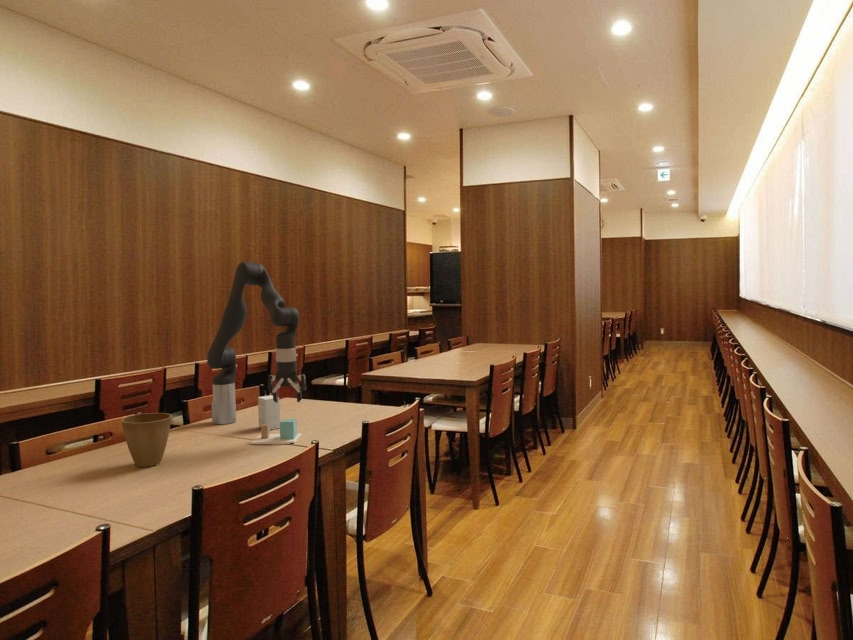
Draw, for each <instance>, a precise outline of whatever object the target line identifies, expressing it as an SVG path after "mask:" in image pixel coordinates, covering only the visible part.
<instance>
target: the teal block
mask: <svg viewBox="0 0 853 640" xmlns="http://www.w3.org/2000/svg"><path fill="white" fill-rule="evenodd" d="M297 420H298V419H297V418H283V419H281V420H280V428H279V434H280V439H294V438H295V437H296V436H297V433H298V423H297V422H298V421H297Z"/></svg>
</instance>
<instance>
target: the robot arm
mask: <svg viewBox="0 0 853 640" xmlns="http://www.w3.org/2000/svg"><path fill="white" fill-rule="evenodd" d="M233 276H234V277H233V281H232V285H231V289H230V293H229V297H228V300H227V302H226V306H225V308H224V310H223V313H222V317H221V319H220V324H219V326H218V328H217V332H216V334H215V336H214V339H213V341H212V343H211V345H210V347H209V349H208V352H207V357H206V361H207V362H206V363H207V365H208V366H209V367H208V368H210V369H213V370H214V369H215V370H216V369H217V370H219V369H220V370H221V371H220V372H219V373H217V375H214V376H213V378H212V380H211V381H212V401H211V421H212V422H211V424H212V425H213V424H215V425H227V424H233V423H235V422H236V421H237V409H236V408H237V407H236V406H237V405H236V402H237V401H236V383H235V380H236V376H237V355H236V351H235V349H234V348H233V347H232V346H230V345H229V346H227V345H228V344H229V343H230V341H232V340H233V338H234V337H235V336H236V335H237V334H238V333H239V332H240V331H241V330H242V329H243V327H244V325H245V322H246V320H247V316H248V309H247V305H246V303H245V299H244V296H243V295H244V289H245V286H258V287H259V288H261V291H260V300H261V303H262V304H263V306H264V307H265V308H266V309H267V311H268V314H269V318H270V322H271V324H273V325H274V326H275V327H286V328H285V330H284V331H281V332H278V333H277V334H276V336H275V341H276V342H275V345H276V349H275V350H276V351H275V352H276V353H275V364H276V366H275V369H276V374H275V375H273V374H269V375H268V376H267V391H268V392H271V393H272V396H273V401H275V403H277V402H278V397H279V393H278V390H279V389H280V387H284V388H285V387H289V388H290V387H293V388H294V390H295V391H296V403H301V401H302V397H303V396H302V395H303V394H302V393H303V391H306V390H307V381H306V379H307V378H306V374H304V373H303V374H299V375H298V371H297V369H298V368H297V365H298V364H297V349H296V334H297V329H298V326H299V322H300V313H299V311H298V309H297V308H296V307H294V306H290V307H286V302H285V300H284V299H283V297H282V296H281V295H280V293H279V292H278V290H276V288H275V285H274V284H273V281H272V279H271V278H270V275H269V273H268V272H267V270H266V267H264V265H263V264H261V263H257V262H251V261H250V262H249V261H241V262H240V263H238V265H237V267H236V269H235V272H234V275H233ZM298 379H299V382H301V386H300V384H299V382H297V380H298ZM275 380H276V382H277V384H275V387H274V388H273V386H274V385H273V383H274V381H275Z"/></svg>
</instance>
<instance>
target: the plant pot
mask: <svg viewBox="0 0 853 640" xmlns="http://www.w3.org/2000/svg"><path fill="white" fill-rule="evenodd" d="M171 421H172V414H170V413H166V412H149V413H138V414H132V415H129V416H125V417H123V418H122V419H121V426H122V430H123V434H124V438H125V442H126V445H127V447H128V451H129V453H130V456H131V459H132V461H133V463H134V465H135V467H136V468H140V467H146V468H148V467H147V466H153V465H156V466H158V465H160V464H161V463H160V462H162V460H163V456H164V455H165V451H166V447H167V443H168V439H169V434H170V428H171V423H172V422H171ZM159 463H160V464H159ZM157 464H158V465H157ZM153 467H154V466H153Z"/></svg>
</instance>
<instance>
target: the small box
mask: <svg viewBox="0 0 853 640" xmlns="http://www.w3.org/2000/svg"><path fill="white" fill-rule="evenodd" d="M257 407H258V408H257V410H258V411H257V413H258V428H259V427H261V425H263V424H269V431H272V430H271V429H273V430H277V429H276V428H278V429H280V421H281V403H280V397H279V396H278V402H277V403H275V401H273V394H271V395H264V396H258V397H257Z"/></svg>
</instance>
